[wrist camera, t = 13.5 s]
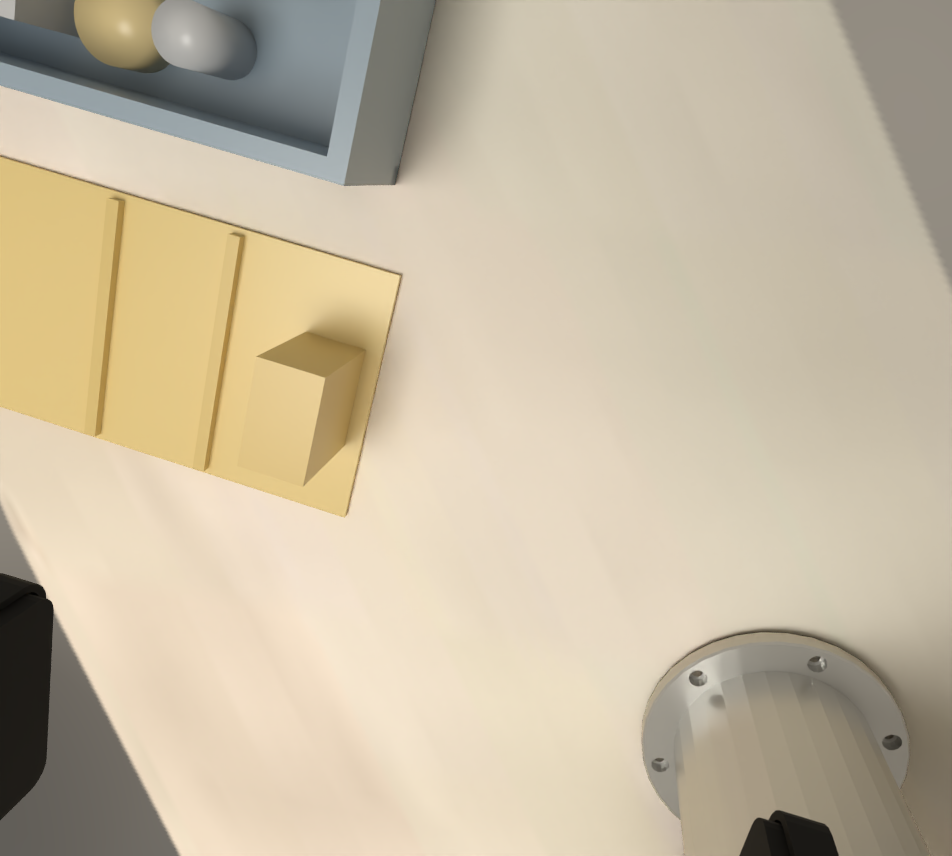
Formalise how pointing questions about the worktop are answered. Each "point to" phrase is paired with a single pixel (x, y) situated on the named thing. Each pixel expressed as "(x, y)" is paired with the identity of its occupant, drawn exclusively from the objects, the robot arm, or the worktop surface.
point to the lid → (188, 336)
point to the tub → (234, 73)
